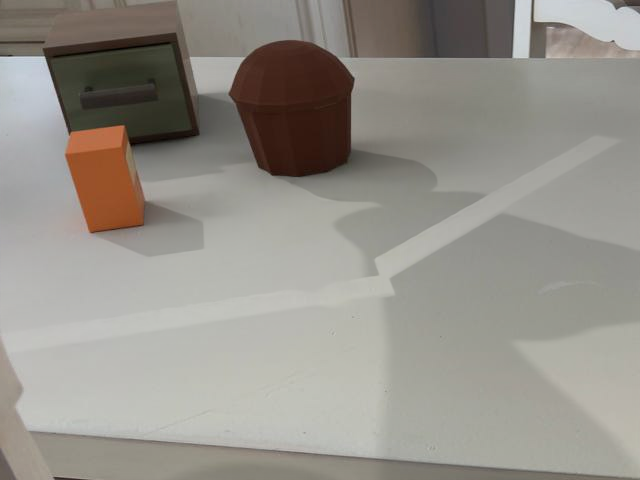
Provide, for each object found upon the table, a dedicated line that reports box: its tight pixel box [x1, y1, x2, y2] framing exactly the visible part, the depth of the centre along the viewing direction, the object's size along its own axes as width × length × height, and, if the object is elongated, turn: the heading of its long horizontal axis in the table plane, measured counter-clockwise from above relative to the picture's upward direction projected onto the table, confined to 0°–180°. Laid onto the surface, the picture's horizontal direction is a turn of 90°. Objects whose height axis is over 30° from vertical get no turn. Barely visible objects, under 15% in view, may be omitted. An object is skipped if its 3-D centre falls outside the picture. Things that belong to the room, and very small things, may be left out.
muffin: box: [228, 39, 356, 177], centre depth 93 cm, size 12×11×10 cm
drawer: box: [51, 42, 192, 138], centre depth 103 cm, size 19×11×8 cm, turn 13°
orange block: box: [64, 125, 146, 233], centre depth 86 cm, size 5×6×6 cm
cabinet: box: [41, 0, 201, 145], centre depth 106 cm, size 16×13×10 cm
